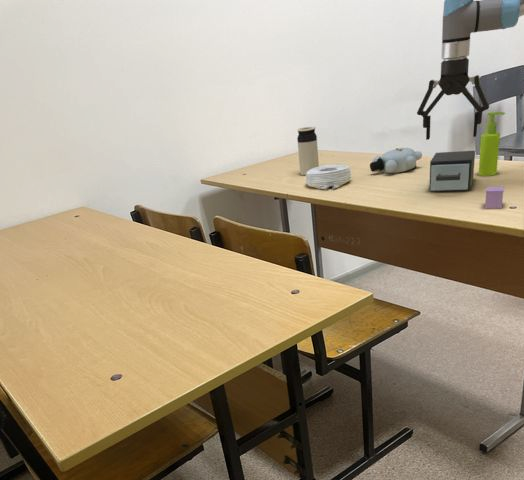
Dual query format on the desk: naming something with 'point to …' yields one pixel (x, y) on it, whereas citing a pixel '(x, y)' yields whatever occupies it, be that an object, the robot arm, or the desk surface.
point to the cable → (328, 176)
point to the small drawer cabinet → (455, 158)
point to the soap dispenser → (489, 147)
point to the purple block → (494, 197)
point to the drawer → (450, 176)
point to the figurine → (396, 160)
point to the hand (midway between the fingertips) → (451, 137)
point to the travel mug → (307, 149)
